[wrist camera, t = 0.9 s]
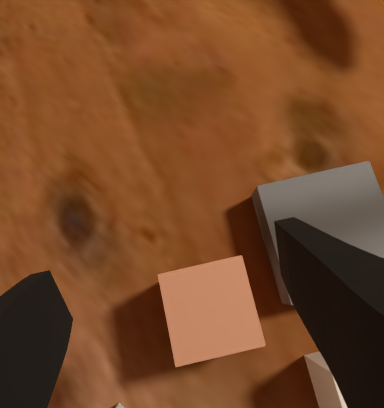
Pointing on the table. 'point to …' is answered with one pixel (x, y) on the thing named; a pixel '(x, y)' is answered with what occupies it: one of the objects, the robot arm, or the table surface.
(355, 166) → the gray slab
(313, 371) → the off-white cube
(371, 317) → the robot arm
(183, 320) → the terracotta cube
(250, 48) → the table surface
